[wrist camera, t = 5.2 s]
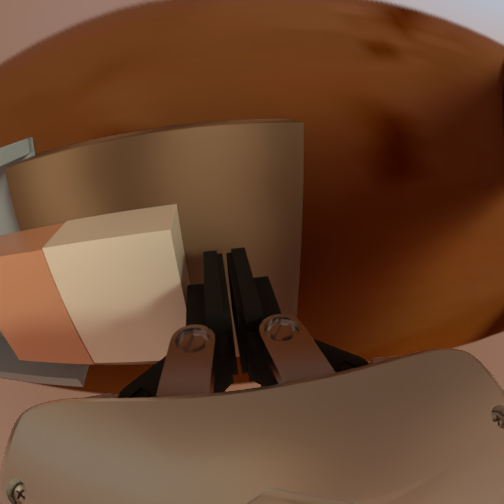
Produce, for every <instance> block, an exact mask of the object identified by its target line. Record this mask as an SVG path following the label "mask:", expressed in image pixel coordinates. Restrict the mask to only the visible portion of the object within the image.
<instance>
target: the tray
mask: <svg viewBox="0 0 504 504" xmlns="http://www.w3.org/2000/svg"><path fill="white" fill-rule="evenodd" d="M34 155H35V151H34V144H33V137H31V138H28V139H24V140H21V141H18V142H16V143H13V144H10V145H7V146H4V147H2V148H0V235H5V234H9V233H14V232H19V231H20V228H19V225H18V222H17V218H16V215H15V211H14V207H13V204H12V200H11V196H10V192H9V187H8V183H7V178H6V173H5V168H8V167H10V166H12V165H14V164H16V163H18V162H20V161H22V160H25V159H27V158H29V157H31V156H34ZM88 368H89V365H80V364H68V363H50V362H36V361H24V360H19V358H18V357H17V356H16V354H15V353H14V351H13V349H12V348H11V346H10V345H9V343H8V342H7V340H6V338H5V337H4V335H3V333H2V332H1V330H0V378H4V379H10V380H17V381H24V382H32V383H41V384H51V385H63V386H77V387H83V386H84V383H85V379H86V375H87V372H88Z"/></svg>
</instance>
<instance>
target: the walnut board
mask: <svg viewBox="0 0 504 504" xmlns="http://www.w3.org/2000/svg"><path fill="white" fill-rule="evenodd" d="M5 173H6V178H7V183H8V187H9V192H10V196H11V200H12V204H13V207H14V211H15V215H16V218H17V222H18V225H19V228H20V231H24V230H29V229H34V228H39V227H45V226H50V225H55V224H61V223H65V222H66V221H70V220H75V219H81V218H86V217H92V216H98V215H104V214H110V213H116V212H123V211H129V210H136V209H143V208H150V207H157V206H164V205H172V204H177V210H178V217H179V223H180V229H181V236H182V242H183V247H184V253H185V259H186V265H187V270H188V275H189V281H190V285H193V284H203V283H204V261H203V252H207V251H216V250H217V254H221V253H222V256H223V263H224V270H225V277H226V284H227V290H228V297H229V304H230V310H231V318H232V327H233V336H234V344H235V353H236V357H240V356H239V350H238V344H237V338H236V332H235V326H234V320H233V313H232V306H231V296H230V287H229V277H228V266H227V256H226V253H230V252H231V249H234V248H243V247H245V251H246V254H247V258H248V261H249V264H250V268H251V271H252V275H253V278H255V277H263V276H268V278H269V280H270V283H271V286H272V288H273V291H274V294H275V297H276V299H277V302H278V305H279V308H280V310H281V313H282V314H288V315H291V316H294V317H296V318H297V308H298V293H299V278H300V260H301V240H302V215H303V179H304V123H303V122H299V121H295V120H290V119H286V118H266V119H241V120H225V121H212V122H201V123H191V124H182V125H174V126H166V127H159V128H152V129H146V130H140V131H134V132H128V133H123V134H117V135H112V136H107V137H102V138H98V139H93V140H89V141H85V142H80V143H76V144H72V145H68V146H64V147H61V148H57V149H53V150H50V151H46V152H43V153H40V154H36V155H34V156H31V157H29V158H27V159H25V160H22V161H20V162H18V163H16V164H14V165H12V166H10V167H8V168H5ZM157 362H159V361H144V362H119V363H94V364H80V365H135V364H156V363H157Z"/></svg>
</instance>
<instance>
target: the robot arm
mask: <svg viewBox="0 0 504 504" xmlns="http://www.w3.org/2000/svg"><path fill="white" fill-rule="evenodd" d="M226 256H227V266H228V277H229V287H230V296H231V306H232V313H233V320H234V326H235V332H236V338H237V344H238V350H239V356H240V361H241V367H242V373H248V375H249V380H250V381H254V382H256V383H258V384H260V385H261V387H259V388H252V389H245V390H237V391H229V392H225V390H226V389H227V388H228V387H229V386H230V385H231V384H232V383H233V376H232V375H235V374H238V369H237V361H236V353H235V344H234V336H233V327H232V318H231V310H230V304H229V297H228V290H227V284H226V277H225V270H224V263H223V256H222V253H221V254H217V250H216V251H207V252H203V261H204V283H203V284H193V285H188V286H187V304H186V326H184V327H182V328H180V329H178V330H177V331H176V332H175V333H174V334H173V336H172V338H171V340H170V344H169V347H168V351H167V355H166V356H165V357H164V358H163V359H161V360H160V361H159V362H157V363H156V364H155V365H154V366H152V367H151V368H150V369H148V370H147V371H146V372H144V373H143V374H142V375H141V376H139V377H138V378H137V379H135V380H134V381H133V382H131V383H130V384H129V385H127V386H126V387H125V388H124V389H123V390H122V391H121V392H120V394H119V395H114V394H113V393H107V394H102V395H97V396H91V397H86V398H72V399H61V400H55V401H49V402H46V403H42V404H38V405H36V406H33V407H31V408H29V409H27V410H26V411H25V412H24V413H22V414H21V415H20V417H19V418H18V419H17V421H16V423H15V425H14V427H13V429H12V431H11V434H10V436H9V439H8V442H7V445H6V448H5V452H4V456H3V460H2V464H1V468H0V504H504V390H503V389H502V387H501V386H500V385H499V383H498V382H497V381H496V379H495V378H494V377H493V376H492V374H491V373H490V372H489V371H488V370H487V369H486V368H485V366H484V365H483V364H482V363H481V362H480V361H479V360H478V359H476V358H475V357H474V356H472V355H471V354H470V353H468V352H465V351H462V350H458V349H431V350H424V351H419V352H414V353H410V354H406V355H402V356H394V357H382V358H372V359H371V361H370V362H367V361H366V360H365V359H363V358H361V357H359V356H356V355H354V354H351V353H348V352H346V351H343V350H341V349H338V348H335V347H333V346H330V345H328V344H325V343H323V342H320V341H318V340H315V339H313V338H312V337H311V335H310V334H309V332H308V331H307V329H306V328H305V326H304V325H303V323H302V322H301V321H300V320H299V319H298V318H296V317H294V316H291V315H288V314H282V313H281V310H280V308H279V305H278V302H277V299H276V297H275V294H274V291H273V288H272V286H271V283H270V280H269V278H268V276H263V277H255V278H253V275H252V271H251V268H250V264H249V261H248V258H247V254H246V251H245V247H243V248H234V249H231V252H230V253H226Z"/></svg>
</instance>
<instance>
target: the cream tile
mask: <svg viewBox="0 0 504 504" xmlns="http://www.w3.org/2000/svg"><path fill="white" fill-rule="evenodd" d="M42 249H43V252H44V255H45V258H46V260H47V263H48V266H49V268H50V271H51V274H52V276H53V279H54V281H55V283H56V286H57V288H58V291H59V293H60V295H61V298H62V300H63V302H64V304H65V306H66V309H67V311H68V313H69V315H70V317H71V319H72V321H73V323H74V325H75V327H76V329H77V331H78V333H79V335H80V337H81V339H82V341H83V343H84V345H85V347H86V348H87V350H88V352H89V354H90V356H91V357H92V359H93V361H94V363H119V362H144V361H160V360H161V359H163V358H164V357H165V356H166V355H167V351H168V347H169V344H170V340H171V338H172V336H173V334H174V333H175V332H176V331H177V330H178V329H180V328H182V327H184V326H186V304H187V286H188V285H190V281H189V275H188V270H187V265H186V259H185V253H184V247H183V242H182V236H181V229H180V223H179V217H178V210H177V204H172V205H164V206H157V207H150V208H143V209H136V210H129V211H123V212H116V213H110V214H104V215H98V216H92V217H86V218H81V219H75V220H70V221H66V222H65V223H64V224H63V226H62V227H61V228H60V229H59V230H58V231H57V232H56V233H55V234H54V235H53V236H52V238H51V239H50V240H49V241H48V242H47V243H46V244H45V245H44V247H43V248H42Z"/></svg>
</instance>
